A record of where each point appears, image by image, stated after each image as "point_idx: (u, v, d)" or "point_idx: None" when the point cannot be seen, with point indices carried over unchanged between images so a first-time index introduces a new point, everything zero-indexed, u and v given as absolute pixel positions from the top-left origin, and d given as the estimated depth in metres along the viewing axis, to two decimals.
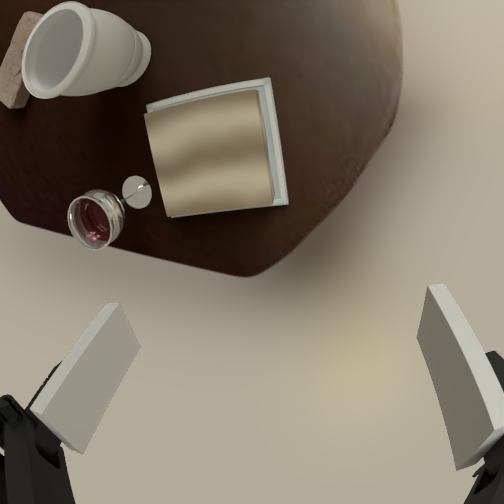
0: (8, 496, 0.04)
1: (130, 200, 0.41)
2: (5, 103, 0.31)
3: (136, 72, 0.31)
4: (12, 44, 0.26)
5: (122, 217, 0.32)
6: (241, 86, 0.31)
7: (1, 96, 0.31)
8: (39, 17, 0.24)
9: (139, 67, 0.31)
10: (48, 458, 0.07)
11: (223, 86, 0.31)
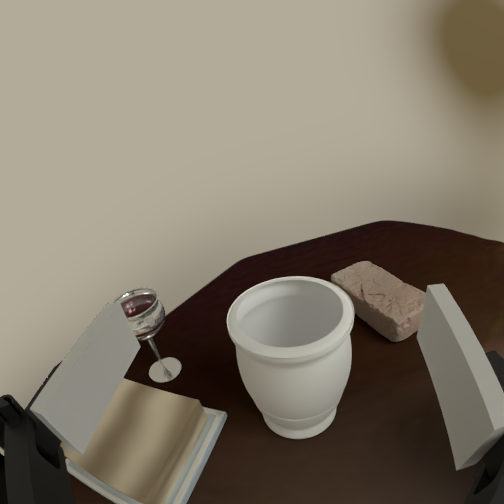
0: (8, 496, 0.04)
1: (162, 360, 0.40)
2: (340, 271, 0.48)
3: None
4: (402, 285, 0.41)
5: None
6: (175, 501, 0.20)
7: (351, 268, 0.48)
8: (413, 316, 0.34)
9: (270, 419, 0.28)
10: (48, 458, 0.07)
11: (188, 486, 0.22)
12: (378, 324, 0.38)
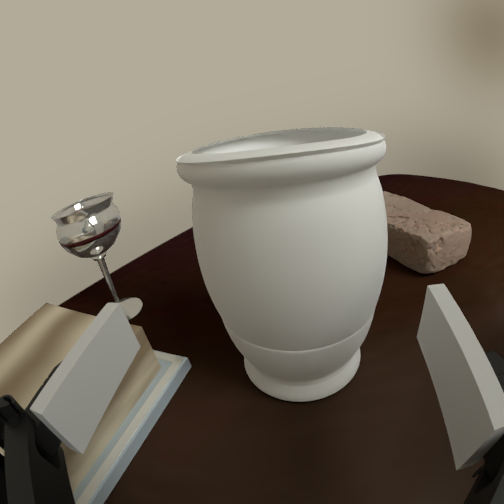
0: (8, 496, 0.04)
1: (120, 300, 0.31)
2: None
3: (249, 360, 0.19)
4: (430, 211, 0.31)
5: (62, 243, 0.23)
6: (88, 490, 0.11)
7: None
8: (447, 237, 0.25)
9: (254, 367, 0.19)
10: (48, 458, 0.07)
11: (110, 469, 0.12)
12: (401, 250, 0.28)
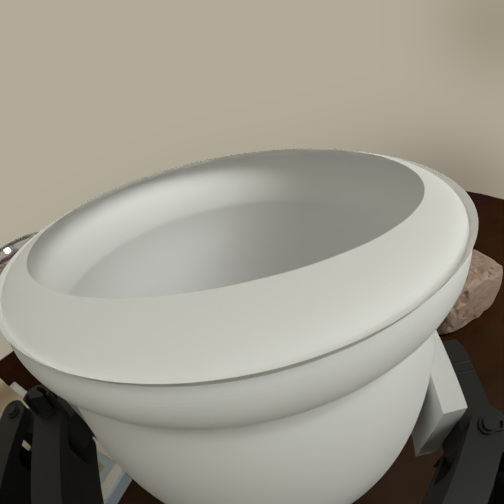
0: (32, 492, 0.04)
1: None
2: None
3: None
4: None
5: None
6: None
7: None
8: (473, 289, 0.17)
9: None
10: (79, 451, 0.07)
11: None
12: None
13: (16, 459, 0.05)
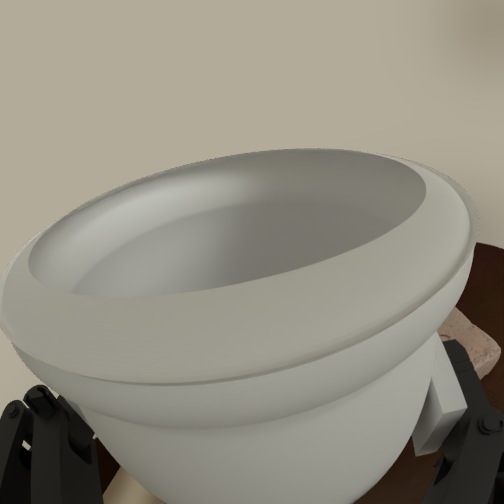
0: (32, 492, 0.04)
1: None
2: None
3: None
4: (470, 326, 0.30)
5: None
6: None
7: None
8: (477, 369, 0.24)
9: None
10: (79, 451, 0.07)
11: None
12: None
13: (16, 459, 0.05)
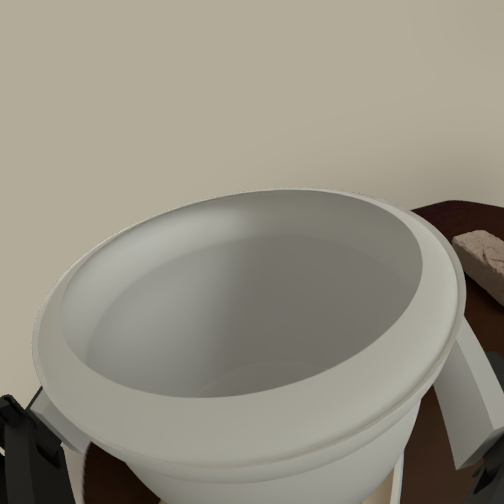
0: (8, 496, 0.04)
1: None
2: (461, 235, 0.37)
3: None
4: None
5: None
6: None
7: (472, 234, 0.37)
8: None
9: None
10: (48, 458, 0.07)
11: None
12: (499, 290, 0.28)
13: None
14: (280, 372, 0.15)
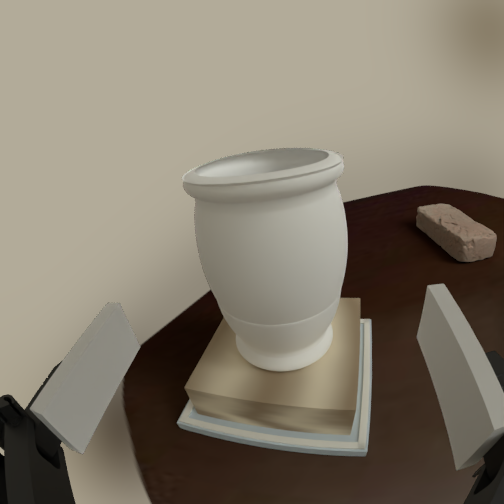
0: (8, 496, 0.04)
1: None
2: (425, 206, 0.49)
3: (240, 338, 0.24)
4: (473, 222, 0.41)
5: None
6: (363, 415, 0.20)
7: (435, 206, 0.49)
8: (477, 240, 0.35)
9: (244, 343, 0.23)
10: (48, 458, 0.07)
11: (369, 395, 0.22)
12: (449, 244, 0.40)
13: None
14: None
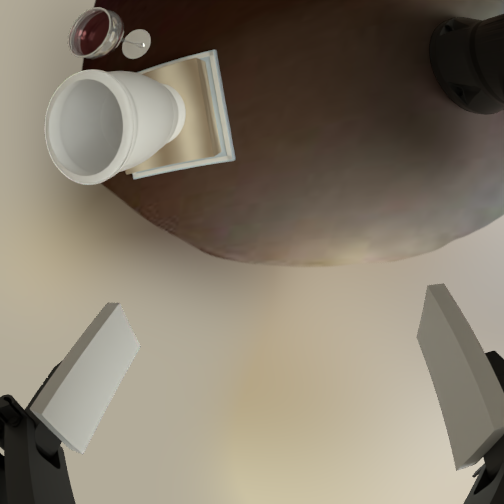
0: (8, 496, 0.04)
1: (128, 39, 0.33)
2: None
3: None
4: None
5: (98, 57, 0.26)
6: (225, 137, 0.38)
7: None
8: None
9: None
10: (48, 458, 0.07)
11: (225, 121, 0.37)
12: None
13: None
14: None
